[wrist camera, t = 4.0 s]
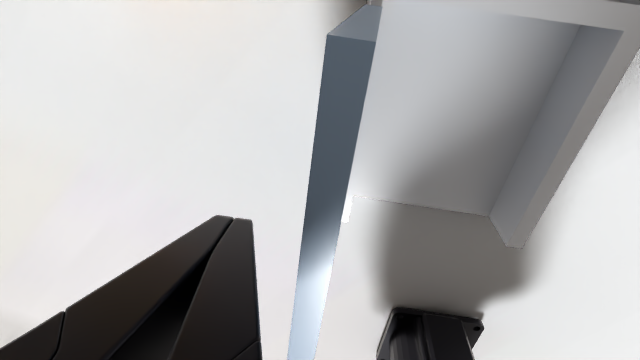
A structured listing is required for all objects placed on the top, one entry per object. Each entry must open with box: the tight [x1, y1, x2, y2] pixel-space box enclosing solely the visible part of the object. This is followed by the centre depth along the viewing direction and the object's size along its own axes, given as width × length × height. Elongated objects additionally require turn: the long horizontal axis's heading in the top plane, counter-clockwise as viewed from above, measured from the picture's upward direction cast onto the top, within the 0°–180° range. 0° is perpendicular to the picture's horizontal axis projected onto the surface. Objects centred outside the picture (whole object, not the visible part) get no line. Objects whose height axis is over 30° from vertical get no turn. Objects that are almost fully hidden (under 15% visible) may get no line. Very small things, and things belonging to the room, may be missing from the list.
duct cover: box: [287, 4, 383, 360], centre depth 10 cm, size 9×9×1 cm
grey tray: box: [341, 0, 640, 249], centre depth 13 cm, size 19×12×3 cm, turn 173°
